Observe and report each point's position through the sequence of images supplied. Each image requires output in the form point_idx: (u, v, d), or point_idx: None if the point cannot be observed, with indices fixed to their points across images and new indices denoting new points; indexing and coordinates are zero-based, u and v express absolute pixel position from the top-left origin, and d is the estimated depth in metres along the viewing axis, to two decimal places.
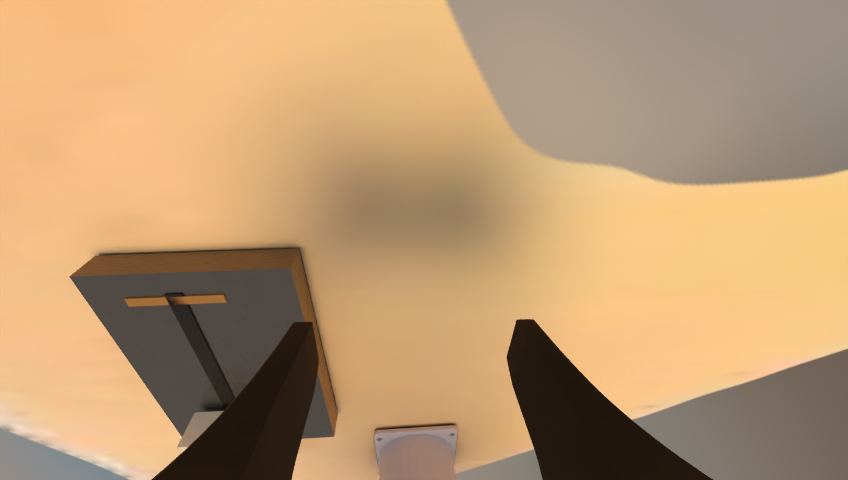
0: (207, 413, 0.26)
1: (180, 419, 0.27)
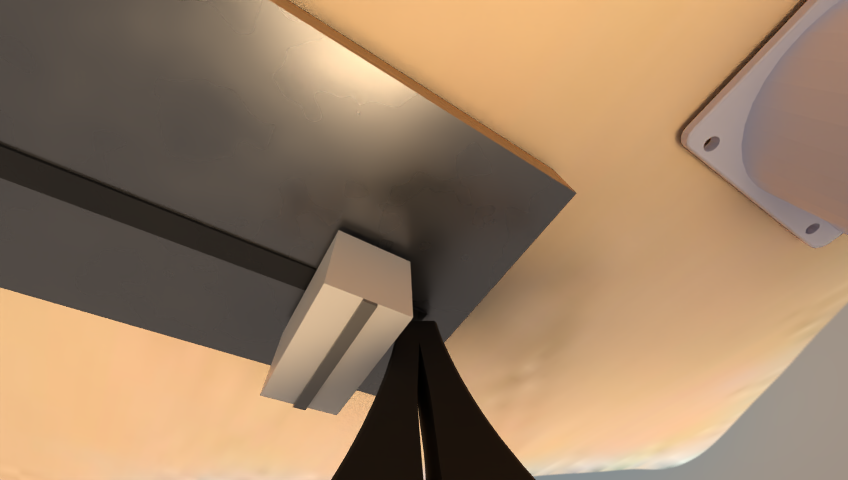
0: (291, 318, 0.12)
1: None
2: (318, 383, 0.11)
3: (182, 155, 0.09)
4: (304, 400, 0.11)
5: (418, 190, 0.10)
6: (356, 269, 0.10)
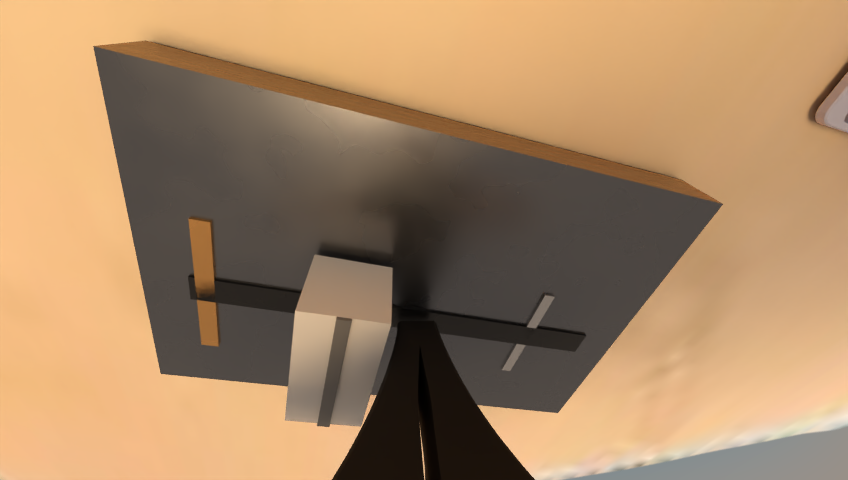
0: None
1: (491, 396, 0.16)
2: (331, 401, 0.11)
3: (380, 260, 0.12)
4: (325, 417, 0.12)
5: (572, 238, 0.12)
6: (331, 289, 0.10)
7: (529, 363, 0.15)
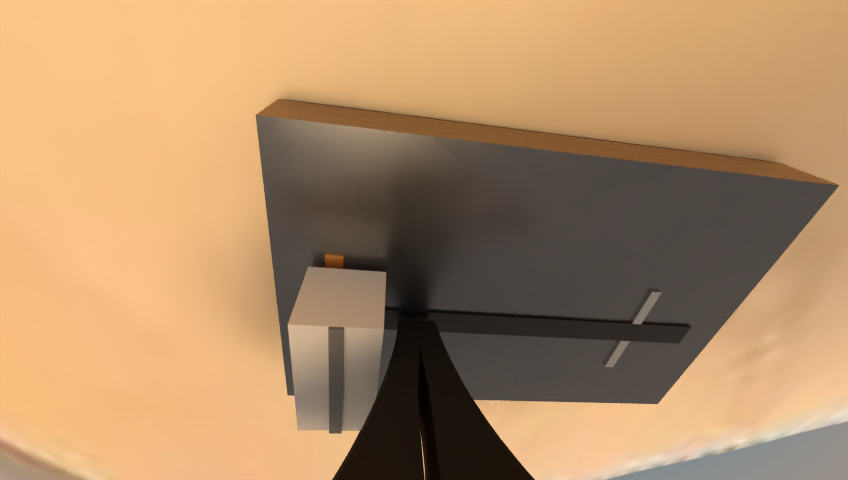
0: None
1: (592, 392, 0.17)
2: (339, 408, 0.11)
3: (494, 274, 0.12)
4: (337, 425, 0.12)
5: (682, 235, 0.12)
6: (323, 299, 0.10)
7: (632, 357, 0.15)
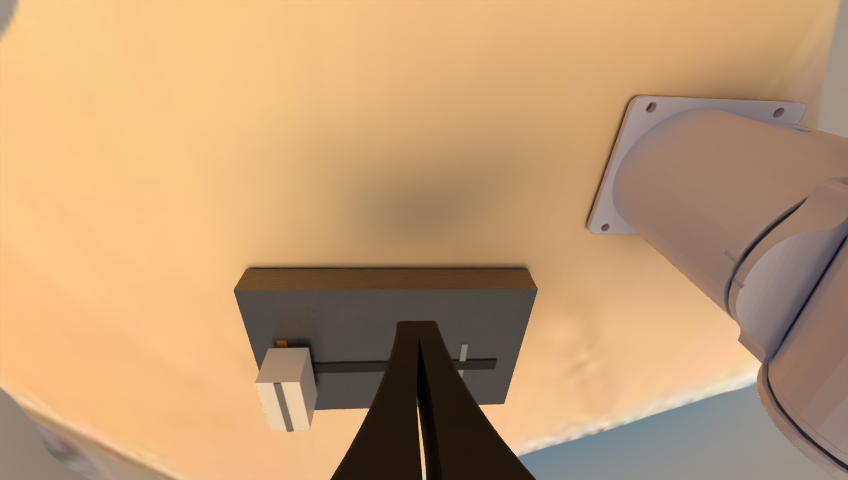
0: None
1: None
2: (289, 418, 0.22)
3: (369, 342, 0.23)
4: (290, 427, 0.23)
5: (464, 317, 0.22)
6: (273, 368, 0.21)
7: (471, 378, 0.26)
